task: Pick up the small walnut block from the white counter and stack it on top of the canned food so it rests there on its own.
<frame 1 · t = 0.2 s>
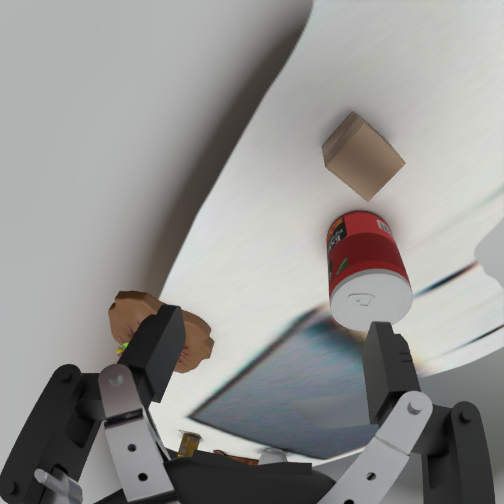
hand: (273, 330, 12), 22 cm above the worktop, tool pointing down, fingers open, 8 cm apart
condiment: (191, 435, 91), on the worktop
walnut block: (355, 144, 28), on the worktop
canned food: (358, 236, 34), on the worktop
teacup: (277, 449, 87), on the worktop
plant: (160, 331, 53), on the worktop
cured meat: (241, 457, 103), on the worktop
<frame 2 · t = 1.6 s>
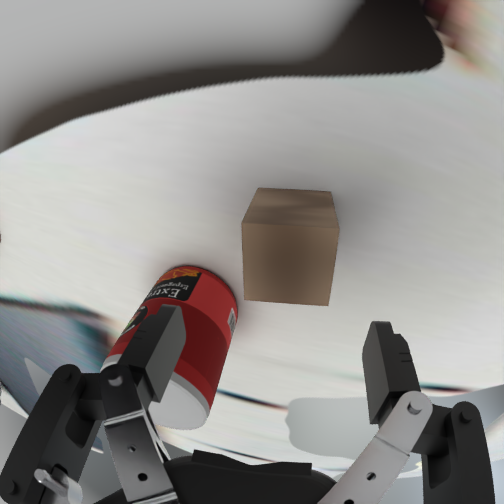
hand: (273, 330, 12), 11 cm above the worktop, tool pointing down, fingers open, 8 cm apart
walnut block: (292, 222, 22), on the worktop
canned food: (198, 299, 27), on the worktop
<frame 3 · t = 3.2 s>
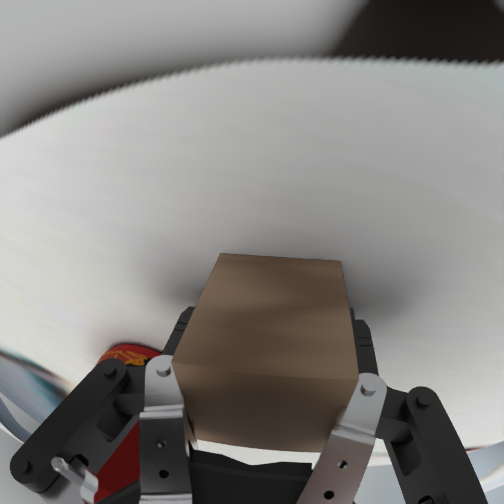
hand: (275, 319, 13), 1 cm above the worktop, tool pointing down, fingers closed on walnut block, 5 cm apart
walnut block: (277, 304, 14), on the worktop, touching gripper
canned food: (155, 378, 19), on the worktop
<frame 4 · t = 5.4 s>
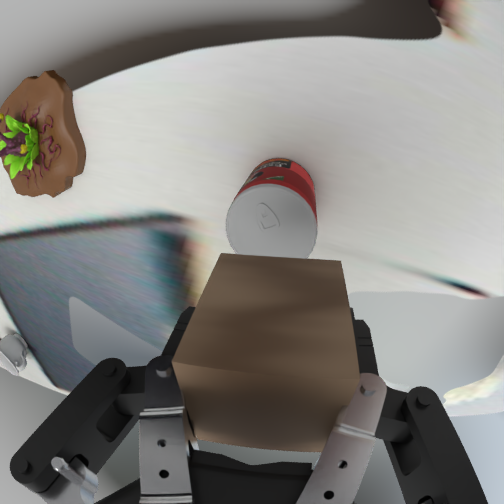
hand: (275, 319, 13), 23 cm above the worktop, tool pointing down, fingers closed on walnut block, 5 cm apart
walnut block: (278, 304, 14), point 22 cm above the worktop, touching gripper
canned food: (281, 189, 34), on the worktop
teacup: (24, 341, 68), on the worktop
plant: (39, 137, 36), on the worktop
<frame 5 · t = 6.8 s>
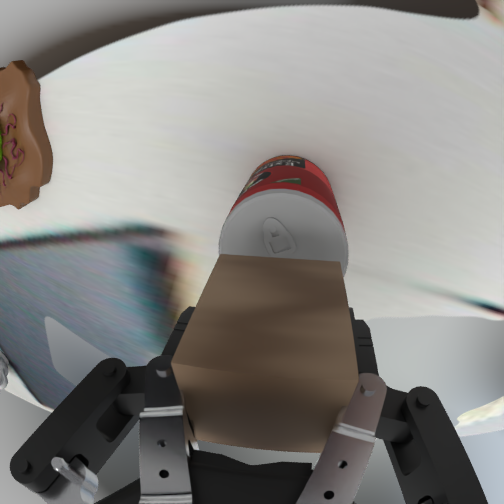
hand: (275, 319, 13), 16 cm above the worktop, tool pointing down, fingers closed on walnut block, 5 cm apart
walnut block: (277, 305, 14), point 15 cm above the worktop, touching gripper
canned food: (289, 196, 27), on the worktop
teacup: (5, 357, 59), on the worktop
plant: (6, 138, 28), on the worktop
when the fingers open (14 cm above the worktop, at t = 7.7 s): walnut block drops 2 cm, resting on canned food.
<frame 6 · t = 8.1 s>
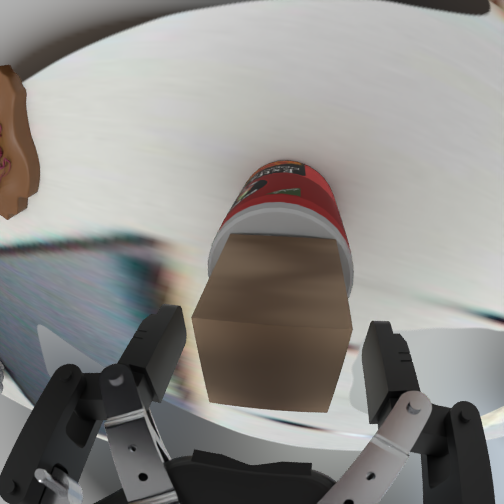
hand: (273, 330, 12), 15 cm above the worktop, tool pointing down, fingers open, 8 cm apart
walnut block: (281, 280, 15), point 11 cm above the worktop, touching canned food
canned food: (288, 204, 25), on the worktop, touching walnut block
teacup: (0, 362, 57), on the worktop
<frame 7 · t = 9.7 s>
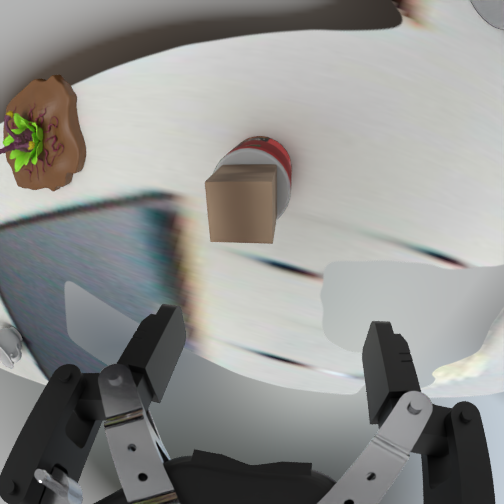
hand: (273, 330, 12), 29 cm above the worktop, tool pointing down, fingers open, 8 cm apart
walnut block: (250, 190, 28), point 11 cm above the worktop, touching canned food
canned food: (261, 165, 38), on the worktop, touching walnut block
teacup: (19, 334, 69), on the worktop
plant: (43, 135, 39), on the worktop
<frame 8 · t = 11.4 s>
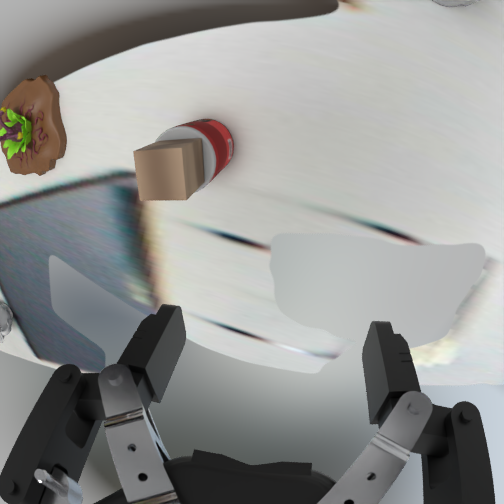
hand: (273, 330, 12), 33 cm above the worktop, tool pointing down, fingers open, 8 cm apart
walnut block: (181, 161, 32), point 11 cm above the worktop, touching canned food
canned food: (208, 144, 42), on the worktop, touching walnut block
teacup: (10, 310, 73), on the worktop
plant: (32, 127, 43), on the worktop
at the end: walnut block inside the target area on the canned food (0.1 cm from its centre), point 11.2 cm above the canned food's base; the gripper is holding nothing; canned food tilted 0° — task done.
